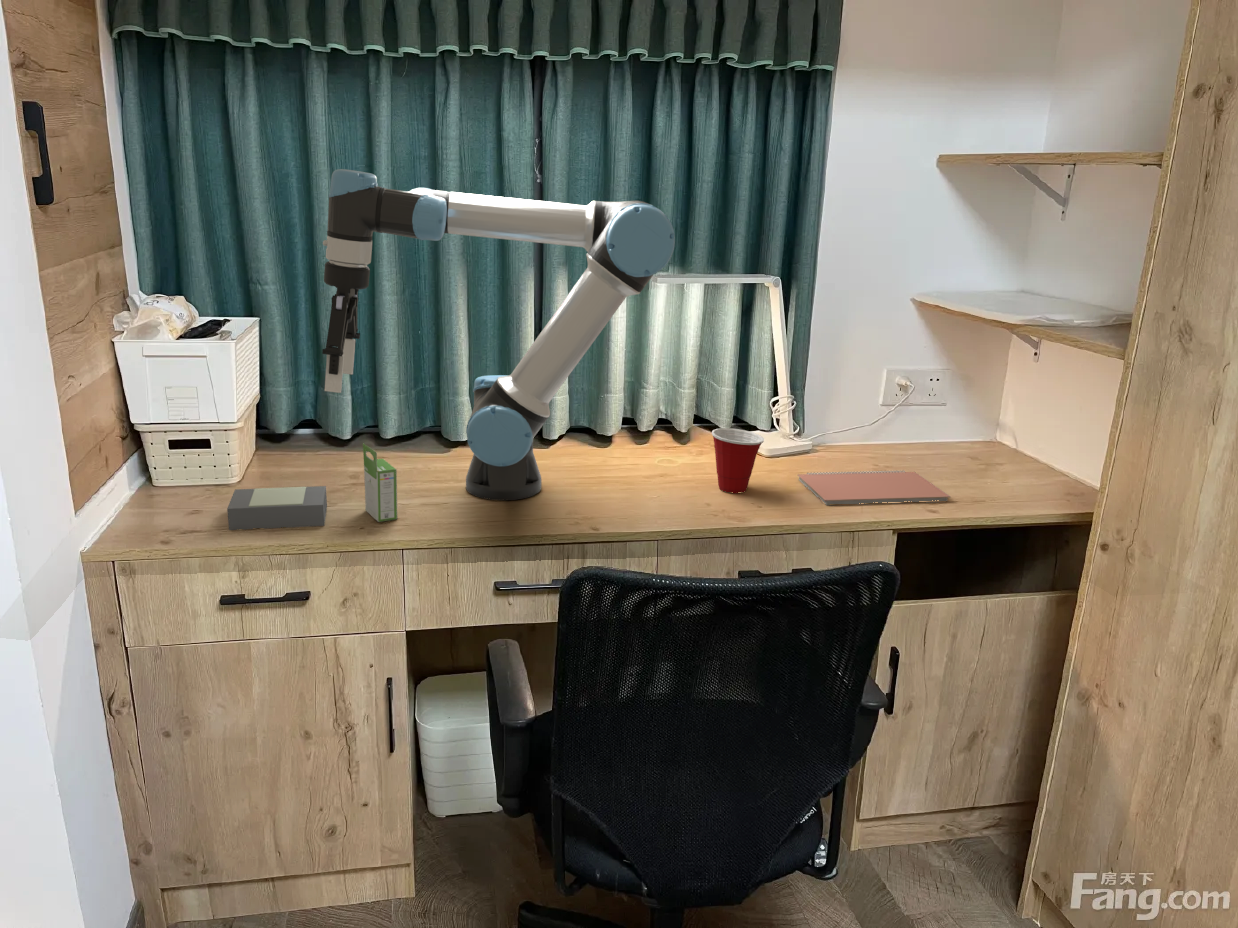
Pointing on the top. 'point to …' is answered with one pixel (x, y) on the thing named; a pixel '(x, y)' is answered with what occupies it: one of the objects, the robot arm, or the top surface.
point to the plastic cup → (735, 457)
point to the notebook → (871, 487)
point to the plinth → (277, 507)
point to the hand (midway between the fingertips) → (339, 382)
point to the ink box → (379, 487)
